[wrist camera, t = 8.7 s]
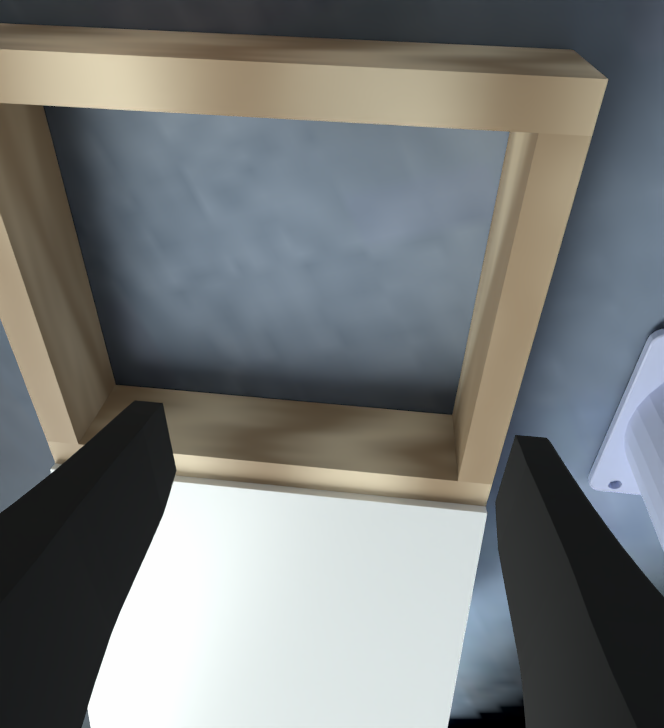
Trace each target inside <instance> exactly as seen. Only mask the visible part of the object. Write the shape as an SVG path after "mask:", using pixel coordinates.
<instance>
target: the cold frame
mask: <svg viewBox="0 0 664 728" xmlns="http://www.w3.org/2000/svg"><path fill="white" fill-rule="evenodd" d="M607 82H608V79H607V78H606V77H605V76H604V75H603V74H601V73H600V72H599V71H598V70H597V69H596V68H594V67H593V66H592V65H591V64H590V63H588V62H587V61H586V60H585V59H584V58H582V57H581V56H580V55H579V54H578V53H576V52H575V51H574V50H567V49H546V48H524V47H503V46H481V45H460V44H438V43H416V42H395V41H373V40H352V39H330V38H308V37H287V36H265V35H244V34H222V33H200V32H179V31H157V30H136V29H114V28H93V27H71V26H49V25H28V24H6V23H0V319H1V321H2V324H3V326H4V329H5V332H6V334H7V337H8V339H9V342H10V345H11V347H12V350H13V353H14V355H15V358H16V360H17V363H18V366H19V368H20V371H21V374H22V376H23V379H24V381H25V384H26V387H27V389H28V392H29V394H30V397H31V400H32V402H33V405H34V408H35V410H36V413H37V415H38V418H39V421H40V423H41V426H42V429H43V431H44V434H45V436H46V439H47V442H48V444H49V447H50V450H51V452H52V455H53V457H54V460H55V463H56V464H55V465H54V466H53V467H52V468H51V469H50V470H51V473H52V472H53V471H55V470H56V469H57V468H58V467H59V466H60V465H62V464H63V463H64V462H65V461H66V460H67V459H69V458H70V457H71V456H72V455H73V454H74V453H76V452H77V451H78V450H79V449H80V448H81V447H83V446H84V445H85V444H86V443H87V442H88V441H89V440H90V439H91V438H93V437H94V436H95V435H96V434H97V433H98V432H99V431H100V430H102V429H103V428H104V427H105V426H106V425H107V424H108V423H109V422H110V421H112V420H113V419H114V418H115V417H116V416H117V415H118V414H119V413H120V412H122V411H123V410H124V409H125V408H126V407H127V406H129V405H130V404H131V403H132V402H133V401H134V400H137V401H148V402H159V403H163V406H164V411H165V416H166V421H167V426H168V431H169V435H170V440H171V445H172V450H173V455H174V460H175V465H176V470H177V471H176V474H175V478H174V481H173V485H172V488H171V492H170V495H169V498H168V501H167V505H166V508H165V511H164V514H163V517H162V519H161V521H160V524H159V526H158V528H157V531H156V533H155V535H154V537H153V540H152V542H151V544H150V547H149V549H148V551H147V553H146V556H145V558H144V560H143V562H142V564H141V567H140V569H139V571H138V573H137V576H136V578H135V580H134V582H133V585H132V587H131V589H130V591H129V594H128V596H127V598H126V600H125V602H124V605H123V607H122V609H121V611H120V614H119V616H118V619H117V622H116V624H115V627H114V629H113V632H112V634H111V637H110V640H109V643H108V646H107V649H106V652H105V655H104V658H103V661H102V664H101V667H100V670H99V673H98V676H97V679H96V682H95V685H94V689H93V692H92V695H91V698H90V701H89V705H88V713H89V719H90V725H91V728H447V727H448V721H449V716H450V711H451V705H452V700H453V694H454V689H455V684H456V678H457V673H458V668H459V662H460V657H461V652H462V646H463V641H464V635H465V630H466V625H467V619H468V614H469V609H470V603H471V598H472V593H473V587H474V582H475V576H476V571H477V566H478V560H479V555H480V550H481V544H482V539H483V533H484V528H485V523H486V517H487V510H486V504H487V500H488V497H489V493H490V490H491V486H492V483H493V479H494V476H495V472H496V469H497V465H498V462H499V458H500V455H501V451H502V448H503V444H504V441H505V437H506V434H507V431H508V427H509V424H510V420H511V417H512V413H513V410H514V406H515V403H516V399H517V396H518V392H519V389H520V385H521V382H522V378H523V375H524V371H525V368H526V364H527V361H528V357H529V354H530V350H531V347H532V343H533V340H534V336H535V333H536V329H537V326H538V323H539V319H540V316H541V312H542V309H543V305H544V302H545V298H546V295H547V291H548V288H549V284H550V281H551V277H552V274H553V270H554V267H555V263H556V260H557V256H558V253H559V249H560V246H561V242H562V239H563V235H564V232H565V228H566V225H567V221H568V218H569V215H570V211H571V208H572V204H573V201H574V197H575V194H576V190H577V187H578V183H579V180H580V176H581V173H582V169H583V166H584V162H585V159H586V155H587V152H588V148H589V145H590V141H591V138H592V134H593V131H594V127H595V124H596V120H597V117H598V113H599V110H600V107H601V103H602V100H603V96H604V93H605V89H606V86H607ZM43 105H46V106H64V107H82V108H100V109H118V110H135V111H153V112H171V113H189V114H207V115H224V116H242V117H260V118H278V119H296V120H314V121H331V122H349V123H367V124H385V125H403V126H420V127H438V128H456V129H474V130H492V131H509V132H510V133H509V138H508V143H507V148H506V153H505V158H504V163H503V168H502V173H501V178H500V183H499V188H498V193H497V197H496V202H495V207H494V212H493V217H492V222H491V227H490V232H489V237H488V242H487V247H486V252H485V257H484V261H483V266H482V271H481V276H480V281H479V286H478V291H477V296H476V301H475V306H474V311H473V316H472V321H471V326H470V330H469V335H468V340H467V345H466V350H465V355H464V360H463V365H462V370H461V375H460V380H459V385H458V390H457V394H456V399H455V404H454V409H453V414H452V415H447V414H436V413H425V412H414V411H403V410H392V409H380V408H369V407H358V406H347V405H336V404H325V403H314V402H302V401H291V400H280V399H269V398H258V397H247V396H235V395H224V394H213V393H202V392H191V391H180V390H168V389H157V388H146V387H135V386H124V385H116V384H115V380H114V376H113V373H112V369H111V365H110V361H109V357H108V353H107V350H106V346H105V342H104V338H103V334H102V330H101V326H100V323H99V319H98V315H97V311H96V307H95V303H94V300H93V296H92V292H91V288H90V284H89V280H88V277H87V273H86V269H85V265H84V261H83V257H82V253H81V250H80V246H79V242H78V238H77V234H76V230H75V227H74V223H73V219H72V215H71V211H70V207H69V203H68V200H67V196H66V192H65V188H64V184H63V180H62V177H61V173H60V169H59V165H58V161H57V157H56V154H55V150H54V146H53V142H52V138H51V134H50V130H49V127H48V123H47V119H46V115H45V111H44V107H43Z"/></svg>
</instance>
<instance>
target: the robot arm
mask: <svg viewBox="0 0 664 728" xmlns="http://www.w3.org/2000/svg"><path fill="white" fill-rule="evenodd" d="M176 471H177V470H176V465H175V460H174V455H173V450H172V445H171V440H170V435H169V431H168V426H167V421H166V416H165V411H164V406H163V403H159V402H148V401H137V400H134V401H133V402H132V403H131V404H130V405H129V406H127V407H126V408H125V409H124V410H123V411H122V412H120V413H119V414H118V415H117V416H116V417H115V418H114V419H113V420H112V421H110V422H109V423H108V424H107V425H106V426H105V427H104V428H103V429H102V430H100V431H99V432H98V433H97V434H96V435H95V436H94V437H93V438H91V439H90V440H89V441H88V442H87V443H86V444H85V445H84V446H83V447H81V448H80V449H79V450H78V451H77V452H76V453H74V454H73V455H72V456H71V457H70V458H69V459H67V460H66V461H65V462H64V463H63V464H62V465H60V466H59V467H58V468H57V469H56V470H55V471H53V472H52V473H51V474H50V475H49V476H47V477H46V478H45V479H44V480H42V481H41V482H40V483H39V484H37V485H36V486H35V487H34V488H32V489H31V490H30V491H29V492H27V493H26V494H25V495H23V496H22V497H21V498H20V499H18V500H17V501H16V502H15V503H13V504H12V505H11V506H9V507H8V508H7V509H5V510H4V511H3V512H1V513H0V728H81V727H82V724H83V721H84V718H85V714H86V711H87V708H88V705H89V701H90V698H91V695H92V692H93V689H94V685H95V682H96V679H97V676H98V673H99V670H100V667H101V664H102V661H103V658H104V655H105V652H106V649H107V646H108V643H109V640H110V637H111V634H112V632H113V629H114V627H115V624H116V622H117V619H118V616H119V614H120V611H121V609H122V607H123V605H124V602H125V600H126V598H127V596H128V594H129V591H130V589H131V587H132V585H133V582H134V580H135V578H136V576H137V573H138V571H139V569H140V567H141V564H142V562H143V560H144V558H145V556H146V553H147V551H148V549H149V547H150V544H151V542H152V540H153V537H154V535H155V533H156V531H157V528H158V526H159V524H160V521H161V519H162V517H163V514H164V511H165V508H166V505H167V501H168V498H169V495H170V492H171V488H172V485H173V481H174V478H175V474H176ZM588 481H589V484H590V486H591V488H593V489H594V490H598V491H606V492H617V493H627V494H637V495H642V498H643V500H644V503H645V505H646V508H647V510H648V513H649V515H650V518H651V521H652V523H653V526H654V528H655V531H656V533H657V536H658V538H659V541H660V543H661V546H662V548H663V551H664V329H660V330H657V331H655V332H654V333H652V334H651V335H650V336H649V338H648V339H647V341H646V344H645V346H644V348H643V351H642V353H641V355H640V357H639V360H638V362H637V364H636V367H635V369H634V371H633V374H632V376H631V378H630V381H629V383H628V385H627V388H626V390H625V392H624V395H623V397H622V399H621V402H620V404H619V406H618V408H617V411H616V413H615V415H614V418H613V420H612V422H611V425H610V427H609V429H608V432H607V434H606V436H605V439H604V441H603V443H602V446H601V448H600V450H599V452H598V455H597V457H596V459H595V462H594V464H593V466H592V469H591V471H590V473H589V476H588ZM612 481H614V482H612ZM495 505H496V523H497V538H498V551H499V556H500V562H501V568H502V573H503V578H504V584H505V589H506V595H507V600H508V605H509V611H510V616H511V621H512V626H513V632H514V637H515V642H516V648H517V653H518V658H519V665H520V672H521V679H522V688H523V699H524V710H525V721H526V728H664V597H663V596H662V594H661V593H660V592H659V591H658V590H657V589H656V587H655V586H654V585H653V584H652V583H651V582H650V580H649V579H648V578H647V577H646V576H645V574H644V573H643V572H642V571H641V569H640V568H639V567H638V566H637V564H636V563H635V562H634V561H633V559H632V558H631V557H630V556H629V555H628V553H627V552H626V551H625V549H624V548H623V547H622V545H621V544H620V543H619V542H618V540H617V539H616V538H615V536H614V535H613V534H612V532H611V531H610V529H609V528H608V527H607V525H606V524H605V523H604V521H603V520H602V518H601V517H600V516H599V514H598V513H597V512H596V510H595V509H594V507H593V506H592V505H591V503H590V502H589V500H588V499H587V497H586V496H585V494H584V493H583V491H582V490H581V488H580V487H579V485H578V484H577V483H576V481H575V480H574V478H573V476H572V475H571V473H570V472H569V470H568V469H567V467H566V466H565V464H564V463H563V461H562V460H561V458H560V456H559V455H558V453H557V452H556V450H555V449H554V447H553V445H552V444H551V442H550V441H549V440H548V439H547V438H542V437H531V436H520V435H515V438H514V442H513V445H512V448H511V452H510V455H509V458H508V462H507V465H506V468H505V472H504V475H503V478H502V482H501V485H500V488H499V492H498V495H497V498H496V502H495Z"/></svg>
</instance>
